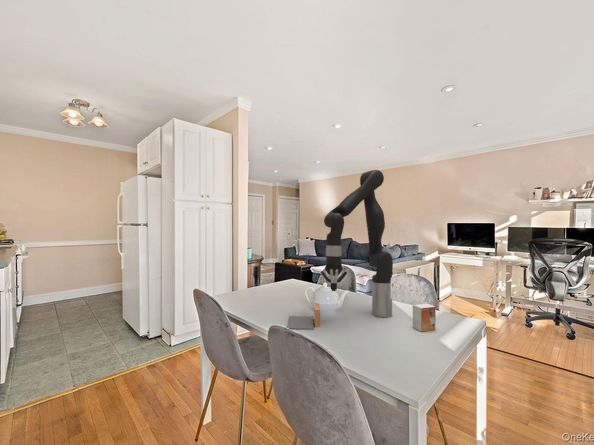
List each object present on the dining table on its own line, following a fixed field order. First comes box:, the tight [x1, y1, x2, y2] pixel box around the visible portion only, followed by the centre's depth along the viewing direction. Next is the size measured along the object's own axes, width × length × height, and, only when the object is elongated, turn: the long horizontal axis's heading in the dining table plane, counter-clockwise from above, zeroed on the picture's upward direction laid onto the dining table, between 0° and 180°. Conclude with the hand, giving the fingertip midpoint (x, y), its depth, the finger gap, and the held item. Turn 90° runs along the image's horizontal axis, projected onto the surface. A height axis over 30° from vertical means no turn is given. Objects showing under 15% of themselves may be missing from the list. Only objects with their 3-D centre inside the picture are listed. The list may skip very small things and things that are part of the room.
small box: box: [412, 303, 436, 333], centre depth 120 cm, size 8×6×10 cm
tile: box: [313, 303, 321, 328], centre depth 128 cm, size 2×10×8 cm, turn 178°
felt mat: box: [286, 315, 315, 330], centre depth 128 cm, size 12×16×1 cm
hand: (333, 290), depth 128 cm, fingers closed
